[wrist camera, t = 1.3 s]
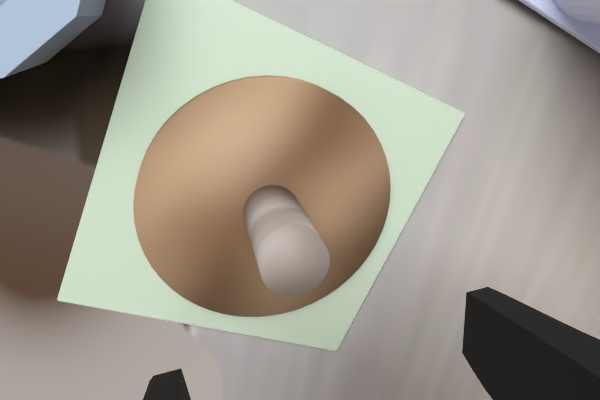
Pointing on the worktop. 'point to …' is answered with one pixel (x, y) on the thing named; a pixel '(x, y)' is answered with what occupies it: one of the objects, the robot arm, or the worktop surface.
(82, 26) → the bowl
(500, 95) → the worktop surface
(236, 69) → the mat
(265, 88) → the lid
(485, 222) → the worktop surface
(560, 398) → the robot arm
